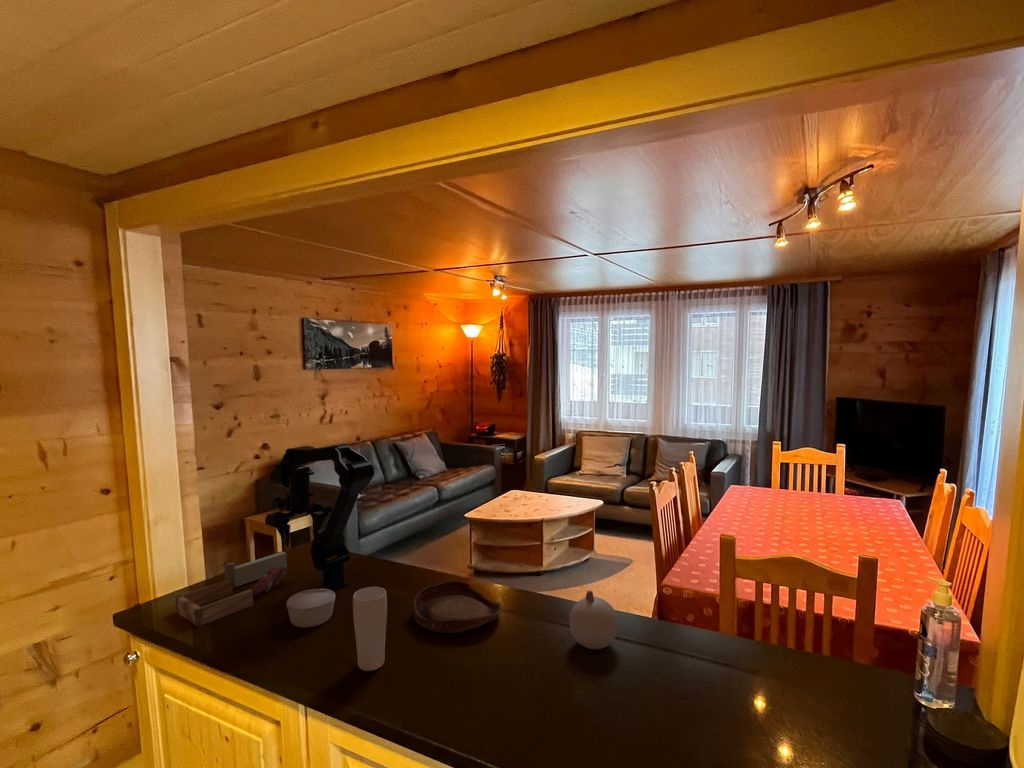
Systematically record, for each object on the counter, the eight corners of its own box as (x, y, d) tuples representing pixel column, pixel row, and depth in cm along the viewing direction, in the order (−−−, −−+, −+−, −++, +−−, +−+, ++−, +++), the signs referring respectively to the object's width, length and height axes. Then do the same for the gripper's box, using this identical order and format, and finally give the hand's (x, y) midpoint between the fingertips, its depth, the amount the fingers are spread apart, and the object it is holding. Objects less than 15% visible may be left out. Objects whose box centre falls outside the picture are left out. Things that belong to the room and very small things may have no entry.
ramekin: (336, 605, 132) (335, 585, 132) (335, 625, 122) (335, 604, 121) (289, 612, 129) (288, 591, 128) (284, 634, 118) (284, 611, 118)
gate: (282, 567, 156) (282, 546, 156) (287, 569, 154) (286, 548, 154) (223, 587, 142) (222, 564, 142) (227, 590, 141) (227, 566, 140)
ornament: (560, 646, 111) (560, 592, 111) (587, 628, 119) (587, 577, 118) (600, 664, 104) (600, 607, 104) (626, 644, 112) (626, 590, 111)
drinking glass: (394, 658, 107) (393, 588, 107) (376, 677, 101) (374, 602, 100) (367, 653, 110) (365, 584, 109) (347, 671, 103) (345, 598, 103)
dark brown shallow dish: (518, 617, 125) (518, 597, 125) (459, 652, 110) (459, 630, 110) (455, 591, 140) (455, 573, 139) (395, 619, 124) (395, 600, 124)
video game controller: (260, 602, 137) (269, 580, 137) (246, 593, 138) (256, 571, 137) (283, 586, 147) (292, 566, 146) (270, 578, 148) (279, 558, 147)
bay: (253, 605, 132) (252, 590, 132) (197, 626, 122) (197, 610, 122) (230, 593, 140) (230, 578, 139) (176, 612, 129) (175, 596, 129)
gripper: (311, 480, 162) (312, 528, 163) (253, 492, 147) (255, 546, 147) (333, 484, 156) (334, 534, 156) (275, 497, 140) (277, 553, 141)
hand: (301, 541), depth 150 cm, fingers open, 9 cm apart
